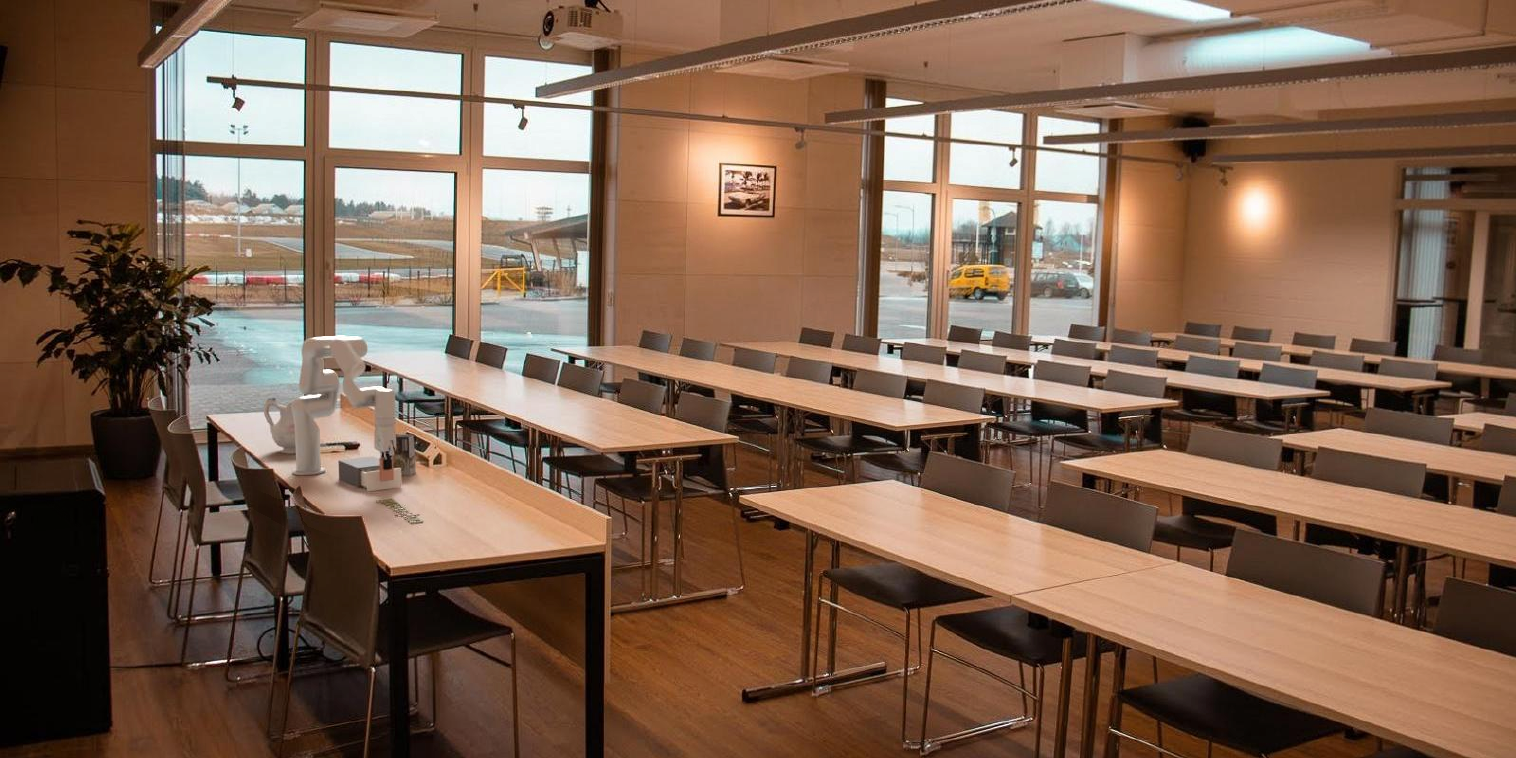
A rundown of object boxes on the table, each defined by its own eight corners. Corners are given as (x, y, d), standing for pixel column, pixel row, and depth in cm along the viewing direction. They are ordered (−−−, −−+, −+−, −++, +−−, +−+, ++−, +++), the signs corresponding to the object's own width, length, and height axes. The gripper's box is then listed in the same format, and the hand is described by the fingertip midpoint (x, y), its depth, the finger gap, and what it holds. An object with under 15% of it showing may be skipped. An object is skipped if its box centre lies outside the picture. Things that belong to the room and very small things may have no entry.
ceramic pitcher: (273, 459, 522) (273, 404, 517) (259, 449, 536) (259, 395, 532) (323, 454, 535) (323, 400, 531) (308, 444, 550) (308, 391, 545)
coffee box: (416, 472, 494) (415, 433, 492) (410, 475, 488) (409, 436, 486) (394, 471, 495) (393, 433, 493) (388, 475, 489) (387, 436, 487)
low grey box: (339, 480, 478) (338, 460, 477) (373, 475, 487) (372, 456, 486) (358, 488, 464) (357, 468, 463) (392, 483, 473) (392, 463, 472)
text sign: (396, 499, 447) (374, 502, 443) (396, 497, 447) (374, 499, 443) (428, 522, 414) (405, 525, 410) (428, 520, 414) (405, 523, 409)
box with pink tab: (348, 483, 471) (347, 451, 470) (381, 478, 480) (380, 447, 478) (370, 492, 455) (369, 459, 454) (404, 487, 464) (403, 455, 463)
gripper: (367, 419, 460) (368, 466, 463) (384, 425, 449) (385, 473, 451) (386, 417, 465) (387, 464, 467) (403, 423, 453) (404, 471, 456)
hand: (386, 468), depth 459 cm, fingers closed
